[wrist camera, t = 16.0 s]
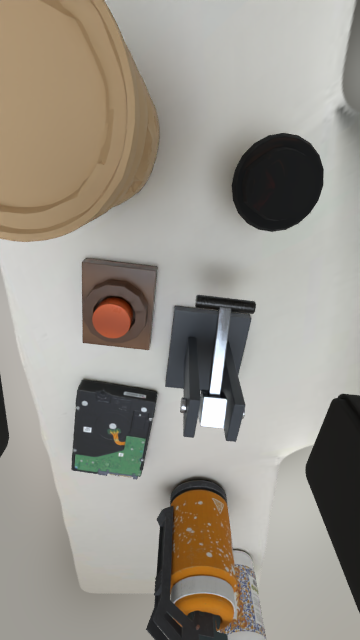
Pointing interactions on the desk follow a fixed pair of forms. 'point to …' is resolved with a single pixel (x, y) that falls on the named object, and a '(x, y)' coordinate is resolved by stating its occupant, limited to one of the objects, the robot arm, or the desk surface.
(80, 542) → the desk surface
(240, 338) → the bracket
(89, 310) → the button block
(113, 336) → the button
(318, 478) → the robot arm
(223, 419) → the lever
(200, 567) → the canister
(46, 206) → the container
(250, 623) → the bath foam
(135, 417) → the disk drive
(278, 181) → the coffee cup
